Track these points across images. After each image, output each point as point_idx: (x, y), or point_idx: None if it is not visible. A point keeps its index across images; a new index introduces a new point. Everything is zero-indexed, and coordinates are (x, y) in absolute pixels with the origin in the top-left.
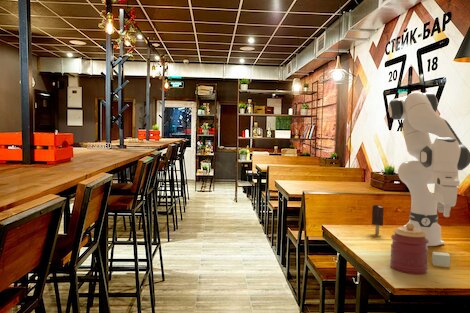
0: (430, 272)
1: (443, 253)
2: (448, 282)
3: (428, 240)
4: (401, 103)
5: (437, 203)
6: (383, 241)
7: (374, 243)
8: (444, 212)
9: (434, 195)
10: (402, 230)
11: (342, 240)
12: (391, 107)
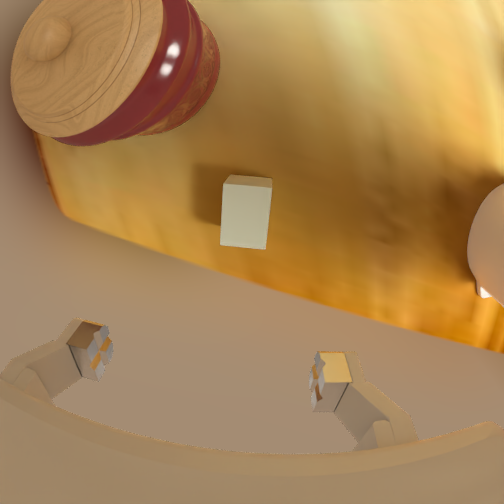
0: (145, 143)
1: (252, 229)
2: (79, 181)
3: (71, 143)
4: None
5: (396, 411)
6: (497, 90)
7: (468, 42)
8: (57, 340)
9: (492, 456)
10: (34, 11)
11: None
12: None
